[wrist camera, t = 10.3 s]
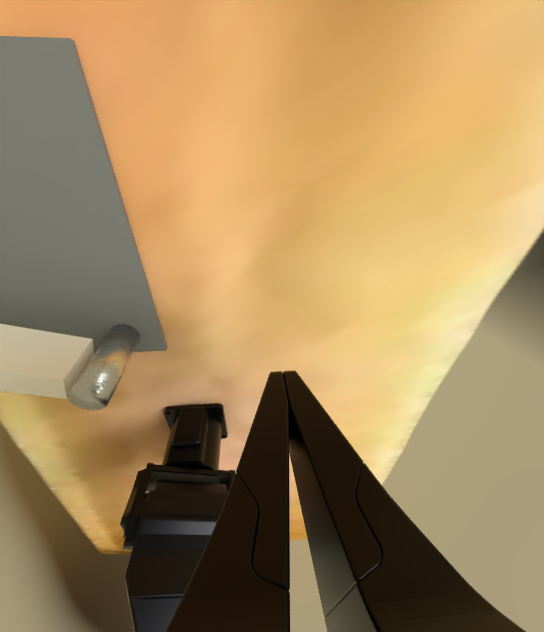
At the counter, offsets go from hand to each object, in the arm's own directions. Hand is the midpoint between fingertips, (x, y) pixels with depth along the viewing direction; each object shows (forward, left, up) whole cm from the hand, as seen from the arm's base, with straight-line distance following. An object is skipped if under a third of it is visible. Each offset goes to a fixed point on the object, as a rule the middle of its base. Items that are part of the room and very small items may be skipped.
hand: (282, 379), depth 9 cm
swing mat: (0, +16, -13) cm, 21 cm away
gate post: (-8, +12, -13) cm, 19 cm away
